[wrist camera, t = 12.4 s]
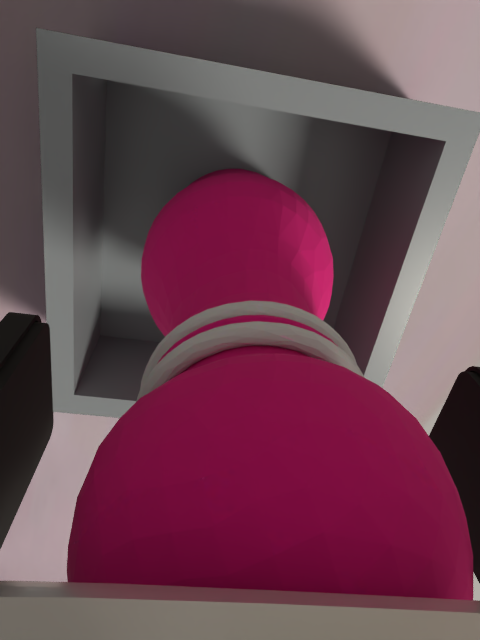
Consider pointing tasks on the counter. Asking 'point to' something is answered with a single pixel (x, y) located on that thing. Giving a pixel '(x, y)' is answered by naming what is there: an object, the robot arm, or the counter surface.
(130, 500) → the pepper mill
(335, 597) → the robot arm
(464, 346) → the counter surface
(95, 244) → the bin
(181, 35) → the counter surface
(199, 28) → the counter surface
